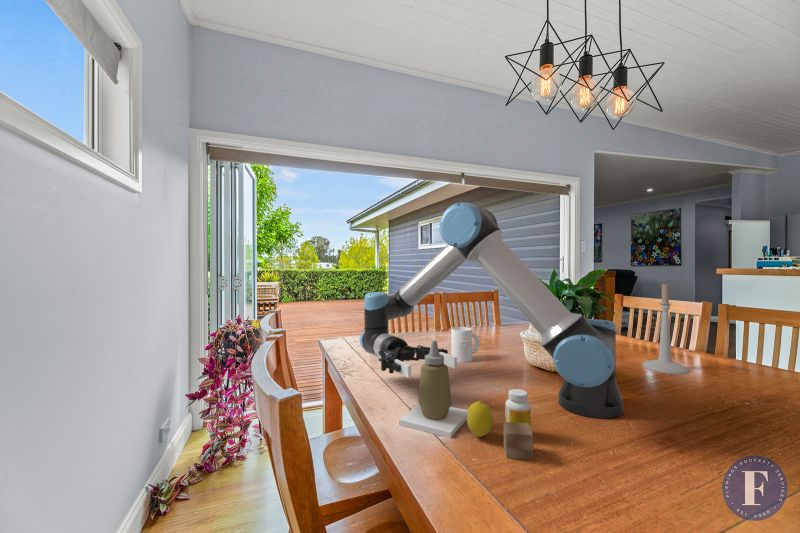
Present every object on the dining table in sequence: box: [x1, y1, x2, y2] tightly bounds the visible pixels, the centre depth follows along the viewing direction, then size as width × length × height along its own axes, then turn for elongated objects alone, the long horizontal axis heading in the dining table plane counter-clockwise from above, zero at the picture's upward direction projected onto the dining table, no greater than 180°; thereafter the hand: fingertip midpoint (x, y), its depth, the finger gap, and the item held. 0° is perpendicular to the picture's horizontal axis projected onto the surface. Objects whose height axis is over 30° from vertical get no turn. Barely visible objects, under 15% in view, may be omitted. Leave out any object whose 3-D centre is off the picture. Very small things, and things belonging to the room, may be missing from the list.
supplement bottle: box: [504, 388, 532, 430], centre depth 81 cm, size 5×5×10 cm
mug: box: [450, 326, 481, 363], centre depth 142 cm, size 8×12×12 cm
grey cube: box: [503, 421, 534, 461], centre depth 74 cm, size 5×5×5 cm
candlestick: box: [642, 283, 689, 375], centre depth 128 cm, size 13×13×30 cm
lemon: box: [466, 400, 494, 438], centre depth 80 cm, size 6×6×8 cm
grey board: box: [398, 403, 469, 439], centre depth 89 cm, size 13×13×1 cm
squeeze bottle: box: [417, 340, 452, 419], centre depth 89 cm, size 8×8×18 cm
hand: (433, 367), depth 89 cm, fingers open, 13 cm apart
